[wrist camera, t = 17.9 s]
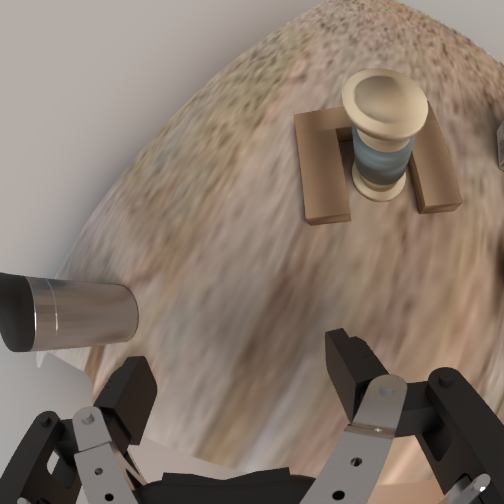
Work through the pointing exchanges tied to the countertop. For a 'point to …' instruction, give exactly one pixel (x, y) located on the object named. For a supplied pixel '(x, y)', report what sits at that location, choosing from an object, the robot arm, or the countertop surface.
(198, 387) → the countertop surface
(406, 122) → the cord spool
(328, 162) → the notched board
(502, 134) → the coffee box
